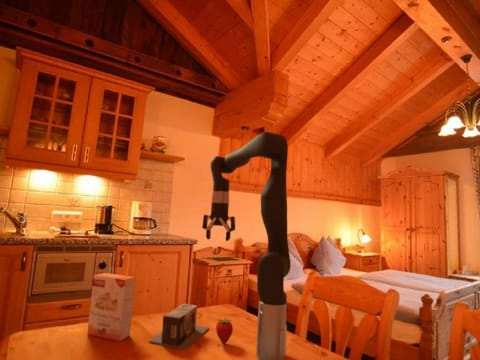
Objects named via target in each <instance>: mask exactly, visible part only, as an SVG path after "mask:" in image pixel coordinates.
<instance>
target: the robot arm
mask: <svg viewBox="0 0 480 360" xmlns="http://www.w3.org/2000/svg"><path fill="white" fill-rule="evenodd" d="M288 151H289V149H288V141H287V138H286V137H285V136H284V135H282V134H278V133H275V132H271V131H263V132H261V133H258V135H256V136H255V137H253V138H251V140H250V141H248V142H247V143H245V144H244V145H243V146H242V147H241V148H238V149H236V150H233V151H231V152H230V153H227V154H226V156H225V157H224V156H219V155H218V156H214V157H213V158H212V159H211V161H210V170H211V171H210V173H211V175H212V181H213V187H212V194H211V208H210V215H208V214H204V215H203V218H202V229H203V230H205V237H206V239H207V240H211V234H212V233H211V232H212V229H213V227H214V226H215V227H216V226H219V227H223V228H224V229H225V231H226V232H225V242H229V240H230V239H231V233H232V232H233V231H236V217H235V216H234V215H232V216H229V205H230V204H229V203H230V180H229V179H227V178H225V177H224V176H223V174H232V173H233V172H235V171H236V170H237V169H238V168H241V167H244V166H246V165H247V164H248V163H249V162H250V161H251V159H253V158H258V157H259V158H260V157H262V158H264V159H270V173H269V177H268V178H267V181H266V182H265V185H264V186H263V189H262V191H261V194H260V215H261V219H262V223H263V225H264V228H265V231H266V235H267V253H265V254H263V255H261V256H260V258H259V260H258V263H257V271H256V272H257V274H256V275H257V276H256V277H257V279H256V280H257V282H256V288H257V289H256V290H257V294H258V314H257V331H256V333H257V334H256V335H257V336H256V357H257V358H258V359H259V360H285V358H286V356H287V355H286V354H287V333H288V332H287V328H288V325H287V299H288V298H287V297H288V295H287V293H286V292H285V291H284V290H285V289H284V286H285V285H284V281H285V279H284V278H286V276H288V275H289V274H290V271H291V267H292V265H291V257H290V250H289V239H288V197H287V196H288V195H287V171H288V169H287V167H288V155H289V154H288V153H289V152H288ZM209 220H210V222H209V224H208V221H209ZM228 221H229V222H230V225H229V224H228Z"/></svg>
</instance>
